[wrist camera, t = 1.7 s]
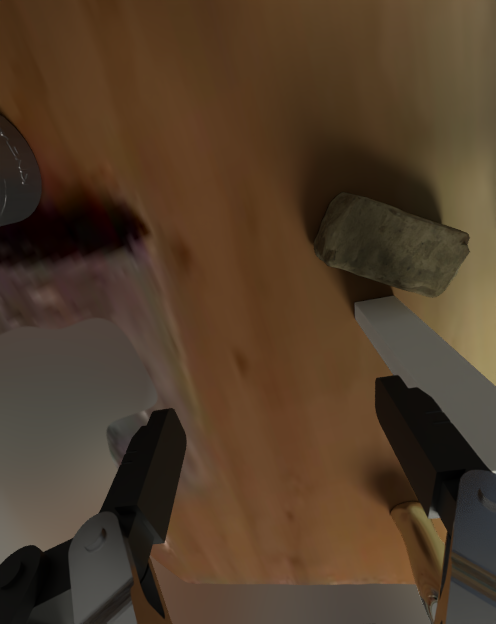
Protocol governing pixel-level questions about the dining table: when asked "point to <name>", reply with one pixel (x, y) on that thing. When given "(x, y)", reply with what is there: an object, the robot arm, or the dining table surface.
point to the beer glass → (421, 551)
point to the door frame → (433, 370)
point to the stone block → (390, 245)
